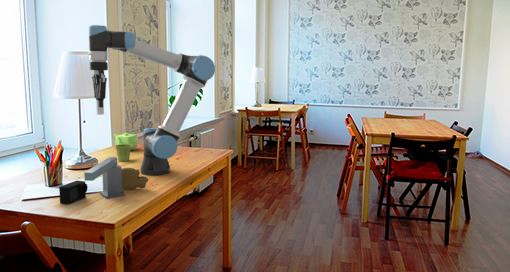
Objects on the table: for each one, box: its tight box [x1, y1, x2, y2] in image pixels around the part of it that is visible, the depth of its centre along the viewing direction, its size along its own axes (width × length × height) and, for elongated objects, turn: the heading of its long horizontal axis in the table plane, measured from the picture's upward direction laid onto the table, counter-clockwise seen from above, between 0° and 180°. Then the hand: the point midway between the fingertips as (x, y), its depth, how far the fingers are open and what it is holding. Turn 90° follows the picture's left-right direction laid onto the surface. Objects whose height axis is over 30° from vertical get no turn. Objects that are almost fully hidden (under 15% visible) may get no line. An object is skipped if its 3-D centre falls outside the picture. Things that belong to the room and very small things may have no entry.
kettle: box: [112, 132, 139, 151], centre depth 274 cm, size 15×14×11 cm
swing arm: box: [84, 156, 118, 182], centre depth 168 cm, size 27×4×3 cm, turn 0°
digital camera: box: [58, 180, 88, 205], centre depth 172 cm, size 10×5×7 cm, turn 165°
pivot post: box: [99, 164, 126, 199], centre depth 181 cm, size 8×8×12 cm
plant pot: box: [114, 144, 132, 162], centre depth 245 cm, size 9×9×9 cm
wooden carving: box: [121, 167, 149, 191], centre depth 189 cm, size 16×5×10 cm, turn 98°
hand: (100, 114), depth 192 cm, fingers closed
